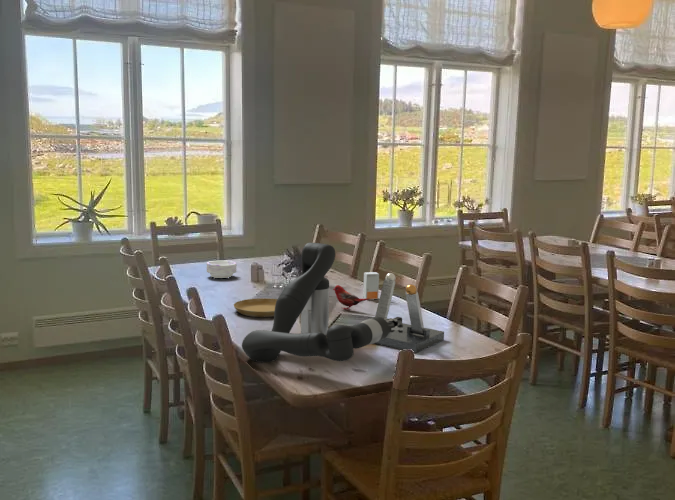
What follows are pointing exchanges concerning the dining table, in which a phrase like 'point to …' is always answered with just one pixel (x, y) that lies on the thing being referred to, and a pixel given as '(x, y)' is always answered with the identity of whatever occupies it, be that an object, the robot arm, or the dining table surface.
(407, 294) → the orange lever
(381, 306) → the white lever
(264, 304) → the plant saucer
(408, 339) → the switch panel
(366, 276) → the skincare box
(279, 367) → the dining table surface
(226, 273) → the white footed bowl
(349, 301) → the decorative bird figurine
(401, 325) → the robot arm
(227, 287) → the dining table surface
